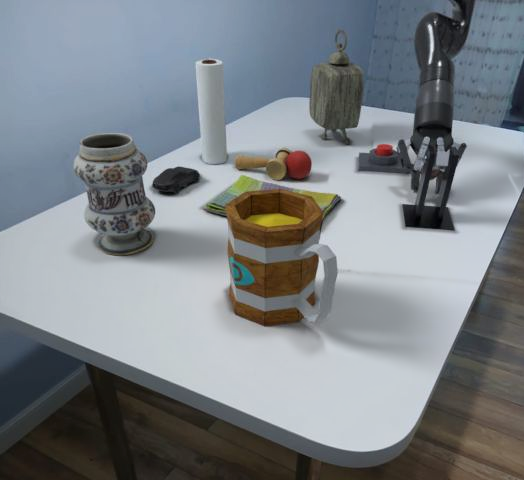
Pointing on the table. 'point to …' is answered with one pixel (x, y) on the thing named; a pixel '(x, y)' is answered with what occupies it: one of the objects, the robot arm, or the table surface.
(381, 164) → the button box
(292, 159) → the kendama
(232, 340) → the table surface
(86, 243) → the table surface
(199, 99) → the paper towel roll
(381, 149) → the button
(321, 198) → the dish towel
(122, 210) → the apothecary jar
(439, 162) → the crank
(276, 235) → the mug
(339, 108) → the tabletop clock
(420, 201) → the crank bracket
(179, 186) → the toy car
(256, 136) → the table surface
